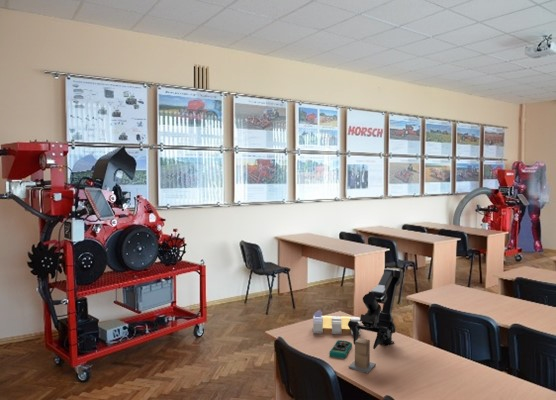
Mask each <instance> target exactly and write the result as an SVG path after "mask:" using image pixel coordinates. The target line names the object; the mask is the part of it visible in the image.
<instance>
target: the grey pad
mask: <svg viewBox="0 0 556 400" xmlns="http://www.w3.org/2000/svg"><path fill="white" fill-rule="evenodd" d="M375 366H376V363H375V362H372V361H370V364H369V365H368V366H367V367H366V368H362V367H358V366H355V360H354V361H353V362H352V363H351V364H349V365H348V369H352V370H355V371H358V372H362V373H366V374H369V373H370V372H371V370H373V369H374V367H375Z"/></svg>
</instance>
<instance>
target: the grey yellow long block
mask: <svg viewBox="0 0 556 400" xmlns="http://www.w3.org/2000/svg"><path fill="white" fill-rule="evenodd" d="M360 318H361V316H338V315H337V316H335V315H323V312H321V311H320V309H318V310H317V311H316V312H314V313H313V317H312V322H313V323H312V324H313V329H312V330H313V331H312V332H313V334H324V333H323V329H331V334H332V335H342V330H350V335H352V336H353V332H352V330H351V329H350V328H349V326H348V322H349V321H350V320H353V321H357V322H358V323H359V325H362V322H361V321H360ZM361 331H362V329H359V331H358V332H359V335H358V336H361V333H362V332H361Z"/></svg>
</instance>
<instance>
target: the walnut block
mask: <svg viewBox="0 0 556 400" xmlns="http://www.w3.org/2000/svg"><path fill="white" fill-rule="evenodd" d="M370 348H371V340H370V339H367V338H363V337H362V338H361V337H358V338H357V340H356V341H355V345H354V361H355V366H358V367H362V368H366V367H367V366H368V365H369V364H370V362H371V361H370V359H371V358H370V357H371V356H370V355H371V354H370V353H371V349H370Z"/></svg>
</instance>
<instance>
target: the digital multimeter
mask: <svg viewBox="0 0 556 400" xmlns="http://www.w3.org/2000/svg"><path fill="white" fill-rule="evenodd" d="M352 346H353V345H352V342H351V341H347V340H342V339H341V340H339V339H338V340H336V342H335V343H334V345H333V347H332V348H331V349H330V351H329V353H328V354H329V357H332V358H336V359H343V360H344V359H346V358H347V354H348V353H349V351H350V350H351V349H352Z"/></svg>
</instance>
